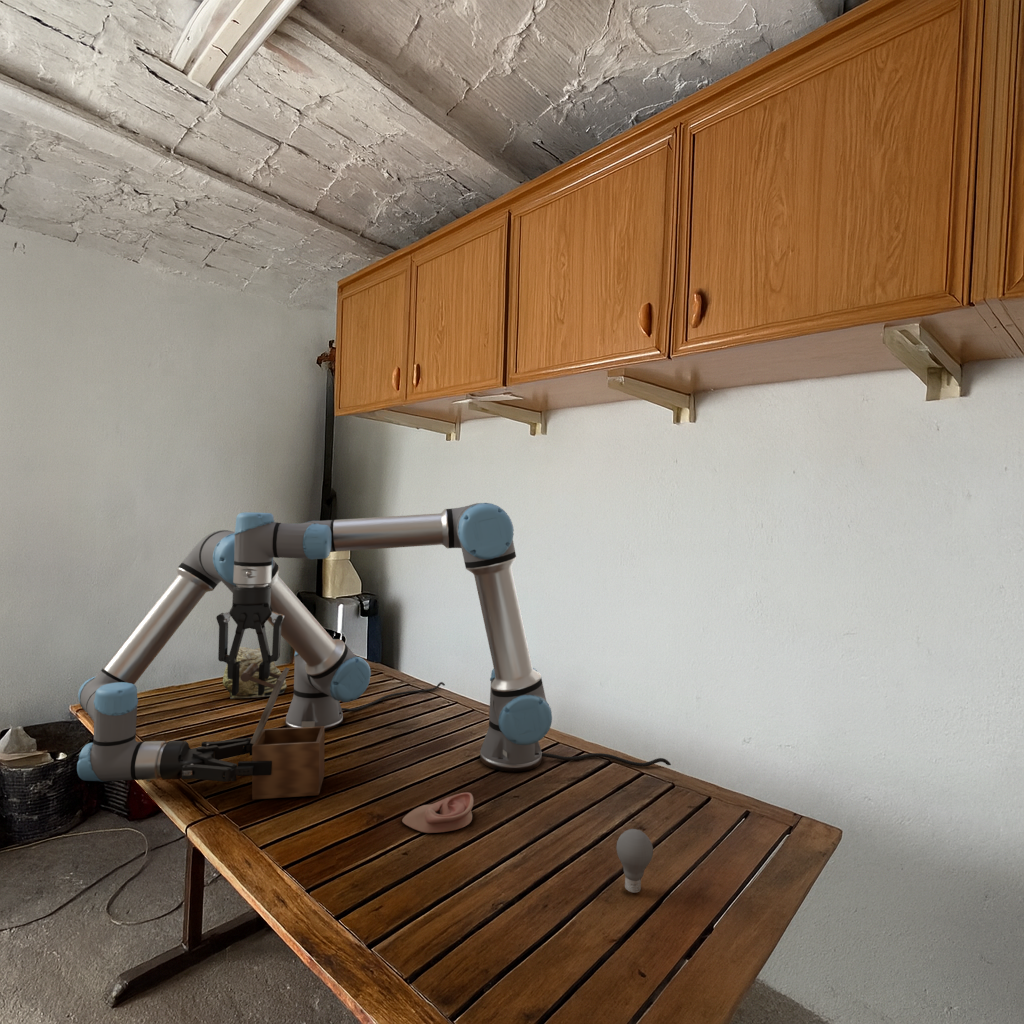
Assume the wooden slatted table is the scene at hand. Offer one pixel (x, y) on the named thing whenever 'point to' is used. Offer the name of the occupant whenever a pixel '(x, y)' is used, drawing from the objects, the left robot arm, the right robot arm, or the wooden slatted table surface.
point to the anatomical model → (442, 814)
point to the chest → (289, 762)
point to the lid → (276, 689)
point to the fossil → (250, 687)
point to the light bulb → (634, 857)
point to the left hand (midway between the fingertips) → (276, 757)
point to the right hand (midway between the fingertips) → (248, 693)
